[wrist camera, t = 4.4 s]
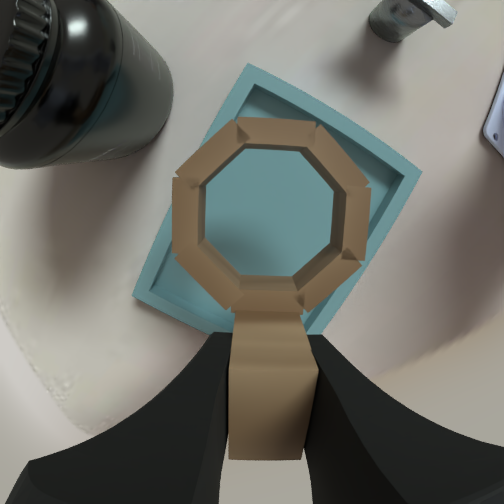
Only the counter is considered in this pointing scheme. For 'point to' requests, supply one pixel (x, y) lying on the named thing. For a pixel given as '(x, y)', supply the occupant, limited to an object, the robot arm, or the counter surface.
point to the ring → (271, 283)
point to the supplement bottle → (76, 84)
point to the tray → (275, 207)
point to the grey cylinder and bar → (408, 17)
